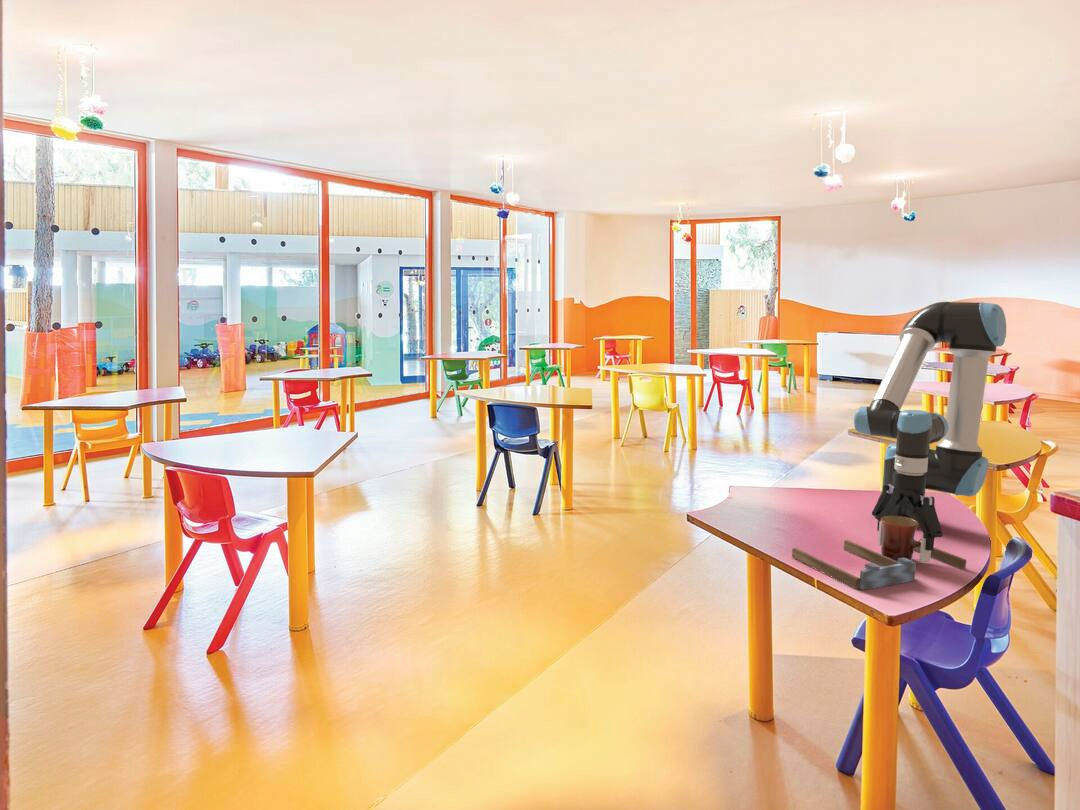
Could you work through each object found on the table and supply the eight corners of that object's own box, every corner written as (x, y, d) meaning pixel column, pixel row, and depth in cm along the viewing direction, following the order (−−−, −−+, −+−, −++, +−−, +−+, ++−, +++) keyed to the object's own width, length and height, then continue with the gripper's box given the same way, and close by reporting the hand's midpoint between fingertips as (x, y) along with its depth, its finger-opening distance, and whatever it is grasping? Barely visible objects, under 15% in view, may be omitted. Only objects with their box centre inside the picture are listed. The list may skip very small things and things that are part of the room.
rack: (895, 541, 214) (896, 522, 213) (971, 571, 192) (973, 550, 191) (791, 557, 201) (793, 537, 200) (861, 592, 179) (863, 569, 178)
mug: (887, 565, 196) (890, 526, 194) (871, 553, 204) (874, 515, 203) (934, 565, 196) (938, 526, 194) (916, 553, 205) (920, 515, 203)
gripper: (861, 462, 206) (855, 539, 210) (940, 485, 184) (932, 571, 187) (883, 459, 209) (876, 536, 213) (964, 482, 187) (955, 567, 190)
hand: (903, 553), depth 200 cm, fingers open, 13 cm apart
